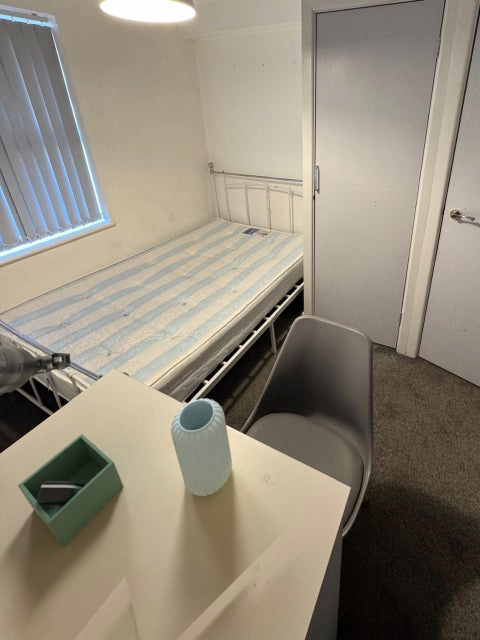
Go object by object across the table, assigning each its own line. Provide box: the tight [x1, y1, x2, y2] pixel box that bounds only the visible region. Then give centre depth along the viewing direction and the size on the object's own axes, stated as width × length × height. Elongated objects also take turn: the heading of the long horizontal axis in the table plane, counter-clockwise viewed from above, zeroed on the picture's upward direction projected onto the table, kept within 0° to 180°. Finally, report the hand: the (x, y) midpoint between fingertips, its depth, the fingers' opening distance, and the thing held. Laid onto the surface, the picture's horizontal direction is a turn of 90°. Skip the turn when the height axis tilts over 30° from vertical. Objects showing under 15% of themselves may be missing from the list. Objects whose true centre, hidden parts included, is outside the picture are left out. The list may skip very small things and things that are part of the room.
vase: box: [170, 397, 233, 497], centre depth 75 cm, size 12×12×22 cm
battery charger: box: [37, 481, 86, 505], centre depth 70 cm, size 7×4×11 cm, turn 91°
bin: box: [17, 433, 124, 548], centre depth 73 cm, size 13×13×10 cm
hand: (40, 370), depth 69 cm, fingers open, 8 cm apart
